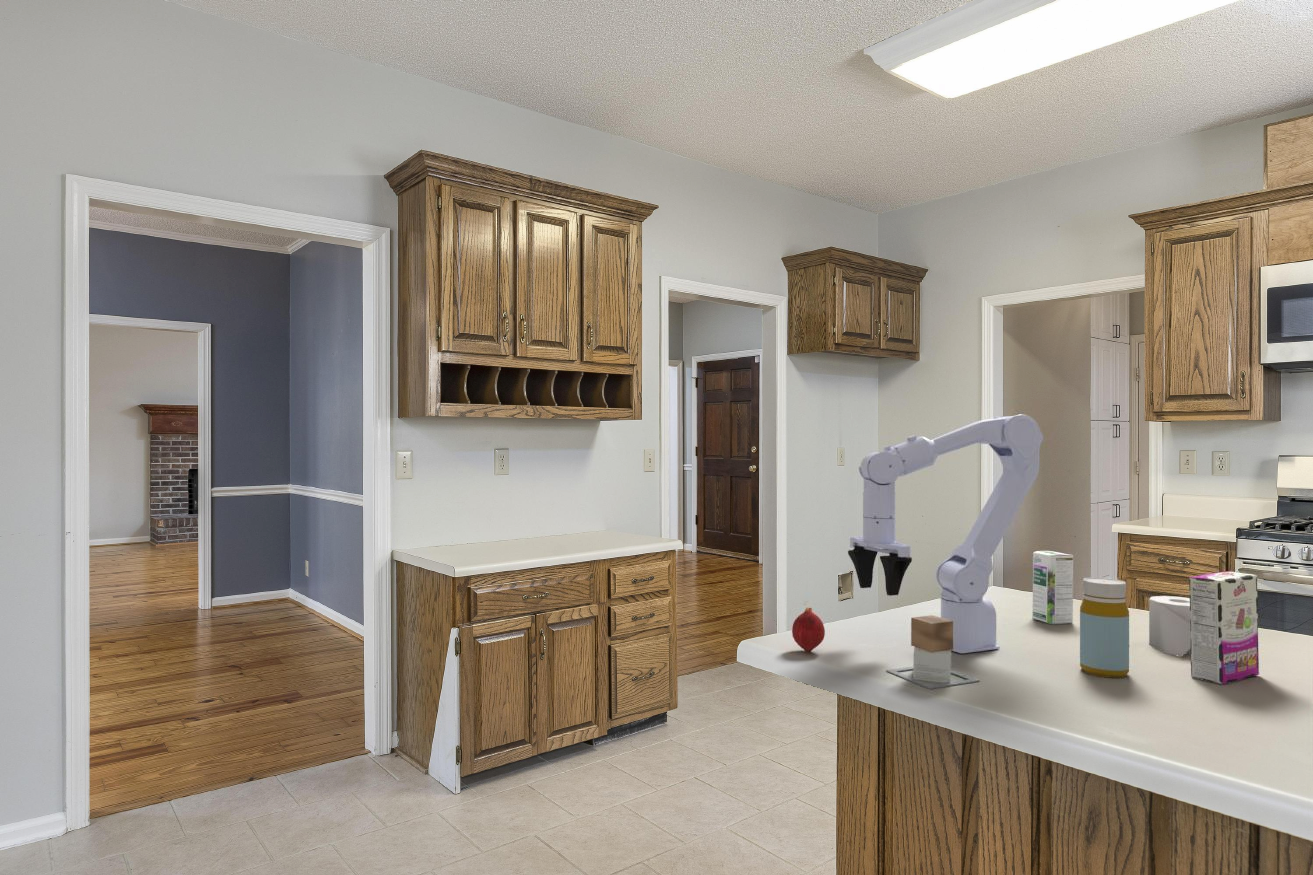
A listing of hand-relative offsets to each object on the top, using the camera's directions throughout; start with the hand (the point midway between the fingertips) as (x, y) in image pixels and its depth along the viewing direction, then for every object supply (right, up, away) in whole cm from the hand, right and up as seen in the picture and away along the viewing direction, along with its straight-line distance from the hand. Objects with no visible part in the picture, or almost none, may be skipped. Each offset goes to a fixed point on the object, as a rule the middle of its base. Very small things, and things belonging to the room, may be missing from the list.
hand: (878, 591), depth 144 cm
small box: (+3, -11, -18) cm, 21 cm away
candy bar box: (+51, -11, -17) cm, 55 cm away
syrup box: (+43, -11, +22) cm, 49 cm away
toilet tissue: (+55, -11, 0) cm, 56 cm away
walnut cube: (+3, -5, -18) cm, 19 cm away
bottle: (+33, -11, -15) cm, 38 cm away
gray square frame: (+3, -10, -18) cm, 21 cm away
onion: (-14, -10, -4) cm, 18 cm away
